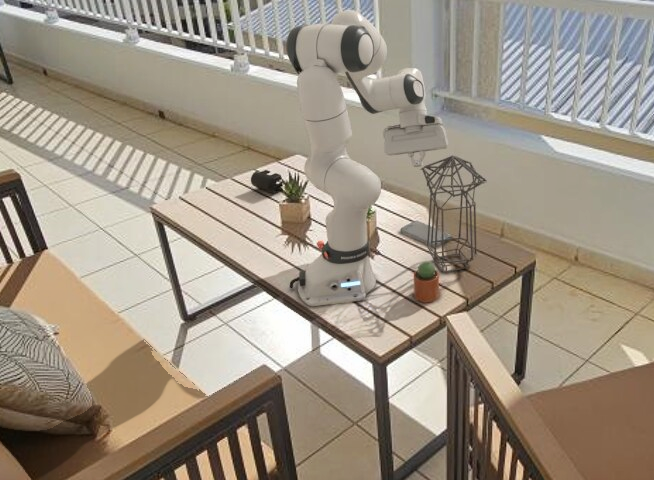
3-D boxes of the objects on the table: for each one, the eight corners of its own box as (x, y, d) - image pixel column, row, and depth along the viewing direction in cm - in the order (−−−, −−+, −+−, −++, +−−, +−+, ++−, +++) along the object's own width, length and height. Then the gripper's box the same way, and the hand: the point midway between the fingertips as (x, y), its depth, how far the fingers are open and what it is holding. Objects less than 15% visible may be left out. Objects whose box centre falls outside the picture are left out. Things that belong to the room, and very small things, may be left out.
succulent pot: (419, 304, 171) (418, 272, 165) (410, 291, 176) (409, 259, 171) (442, 299, 173) (442, 266, 167) (433, 286, 178) (433, 254, 173)
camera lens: (252, 190, 235) (249, 174, 232) (266, 183, 240) (263, 167, 236) (270, 196, 230) (267, 180, 227) (284, 190, 235) (281, 173, 231)
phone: (435, 248, 196) (435, 244, 196) (399, 232, 206) (399, 228, 205) (452, 238, 201) (452, 235, 201) (416, 223, 211) (416, 219, 210)
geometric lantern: (420, 254, 193) (418, 149, 175) (468, 247, 196) (471, 143, 178) (433, 281, 180) (433, 170, 162) (485, 273, 183) (490, 164, 165)
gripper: (379, 125, 193) (383, 169, 193) (443, 116, 188) (447, 162, 188) (385, 128, 199) (389, 171, 199) (447, 119, 194) (451, 163, 194)
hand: (417, 166), depth 194 cm, fingers closed
